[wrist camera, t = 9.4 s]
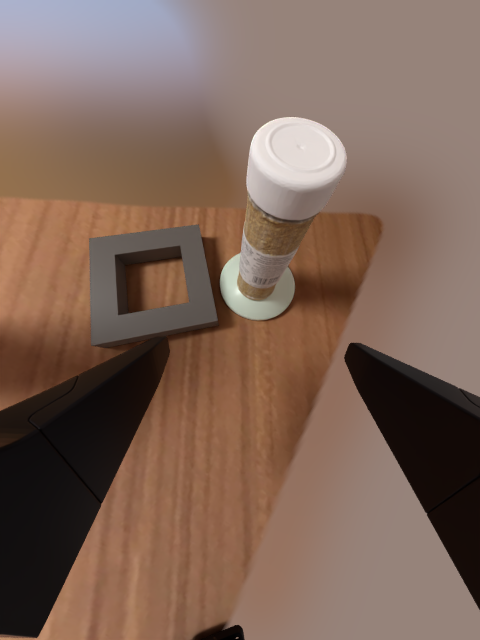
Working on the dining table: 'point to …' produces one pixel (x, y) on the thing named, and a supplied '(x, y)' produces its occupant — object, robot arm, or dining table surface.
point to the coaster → (255, 307)
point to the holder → (111, 290)
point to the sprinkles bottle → (284, 196)
